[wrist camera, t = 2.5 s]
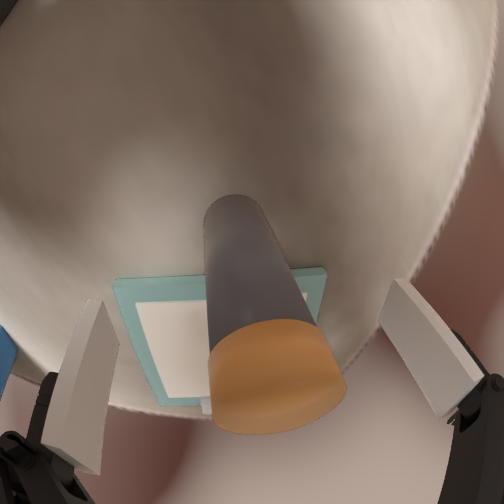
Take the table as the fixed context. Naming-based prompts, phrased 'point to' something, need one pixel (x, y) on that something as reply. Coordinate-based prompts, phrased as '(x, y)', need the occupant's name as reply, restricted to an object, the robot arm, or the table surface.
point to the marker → (260, 329)
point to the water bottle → (6, 358)
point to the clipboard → (184, 330)
